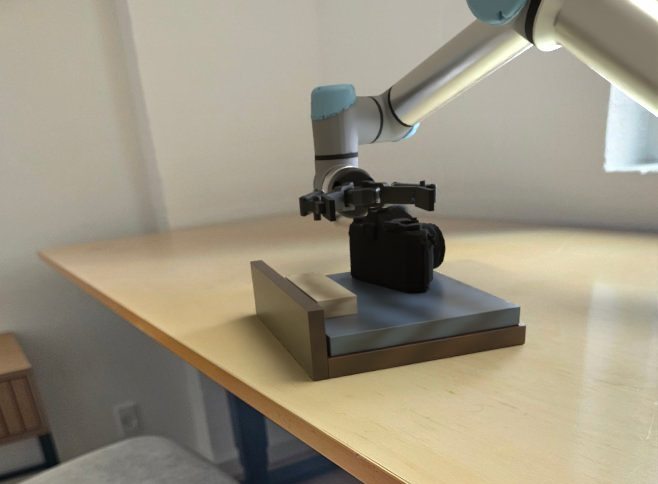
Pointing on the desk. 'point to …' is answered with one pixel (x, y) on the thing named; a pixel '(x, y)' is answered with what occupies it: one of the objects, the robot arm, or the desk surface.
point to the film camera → (395, 249)
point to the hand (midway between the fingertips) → (382, 205)
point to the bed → (312, 333)
